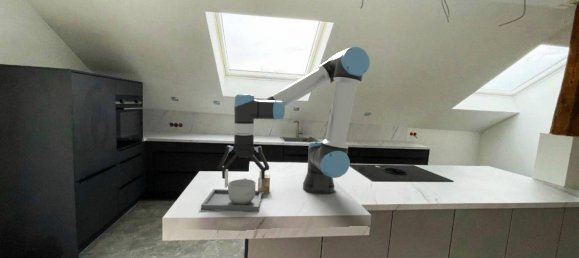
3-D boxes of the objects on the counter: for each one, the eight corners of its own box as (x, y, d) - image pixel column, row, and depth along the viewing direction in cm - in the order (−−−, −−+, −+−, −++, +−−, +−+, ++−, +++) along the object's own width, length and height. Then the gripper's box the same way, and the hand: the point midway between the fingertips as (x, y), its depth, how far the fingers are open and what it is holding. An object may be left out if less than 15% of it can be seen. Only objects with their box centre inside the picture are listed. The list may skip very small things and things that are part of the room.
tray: (261, 194, 114) (262, 190, 114) (258, 211, 97) (258, 206, 96) (213, 193, 114) (213, 189, 113) (200, 209, 96) (201, 204, 96)
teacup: (249, 208, 97) (250, 187, 97) (222, 205, 99) (222, 184, 99) (260, 196, 111) (261, 178, 110) (237, 193, 113) (237, 175, 112)
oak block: (269, 189, 122) (270, 175, 121) (269, 193, 117) (269, 178, 116) (258, 189, 122) (259, 174, 121) (257, 192, 117) (258, 177, 116)
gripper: (276, 133, 107) (274, 184, 109) (214, 132, 106) (214, 183, 108) (275, 135, 99) (274, 190, 101) (209, 134, 99) (209, 189, 101)
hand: (243, 186), depth 105 cm, fingers open, 13 cm apart
